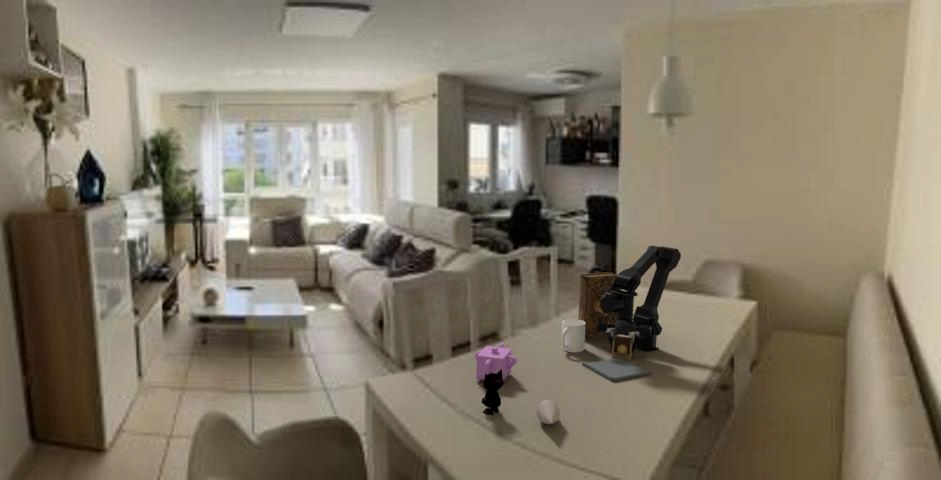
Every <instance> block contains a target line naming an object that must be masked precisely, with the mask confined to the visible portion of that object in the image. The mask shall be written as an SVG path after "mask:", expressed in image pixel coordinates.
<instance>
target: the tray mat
mask: <svg viewBox="0 0 941 480" xmlns="http://www.w3.org/2000/svg"><path fill="white" fill-rule="evenodd" d="M581 366H583V367H585V368H586V369H588V370H590V371H592V372H594V373H595V374H597V375H599V376H601V377H602V378H604V379H606V380H608V381H610V382H612V383H614V382H619V381H624V380H629V379H634V378H640V377H644V376H649V375H652V370H651V369H649V370H648V369H647V370H646V369H643V368H641V367H639V366H638V365H635V364H633V363H632V362H631V363H630V362H629V361H628V360H626V359H621V358H608V359H605V360H598V361H591V362H587V361H586V362H585V361H584V360H583V361H581Z"/></svg>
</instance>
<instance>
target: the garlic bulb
mask: <svg viewBox="0 0 941 480" xmlns="http://www.w3.org/2000/svg"><path fill="white" fill-rule="evenodd" d="M536 410H537V411H536V416H537V419H538V420H539V421H540V422H541V423H542V424H545V425H553V424H555V423H556V422H558V420H559V419H560V417H561V416H560V415H561V411H560V408H559V406H558V405H557V404H556V403H555V402H554V401H551V400H550V399H545V400H542V401H541V402H540V403H539V404H538V407H537V409H536Z"/></svg>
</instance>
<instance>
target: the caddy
mask: <svg viewBox="0 0 941 480" xmlns="http://www.w3.org/2000/svg"><path fill="white" fill-rule="evenodd" d="M633 342H634V337H628V336H621V335H617V336H614V337H613V344H612V350H611V359H614V358H621V359H623V360H626V361H628V360H629V361H631V360H632V357H633V353H632V347H633ZM619 345H625V346H627V348H628V353H620V352H617V347H618V346H619Z"/></svg>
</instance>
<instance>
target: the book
mask: <svg viewBox="0 0 941 480" xmlns="http://www.w3.org/2000/svg"><path fill="white" fill-rule="evenodd" d="M617 275H618V274H615V273H613V271H605V272H604V271H603V272H593V273H582V274H580V276H579V277H580V278H579V280H580V281H579V300H578V301H579V302H578V320H582V321H584V322H585V323H586V326H585V342H588V341H590V342H591V341H595V340H596V341H597V340H601V339H602V340H604V339H608V337H607V336H606V334H603V332H599V331H596V324H597V322H598V321H599V320H605V321H609V324H615V320H616V312H614V313H609V314H606V313H604V312H603V311H602V309H601V307H600V302H601V300H602V299H603V298H604V297H605V294H607V293H610V292H609V290H610V288H611V286H612V284H613V282H614V280H615V278H616V276H617ZM617 289H618V288H617ZM619 290H621V289H619ZM614 336H618V335H616V334H615V330H613V338H614Z"/></svg>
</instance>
